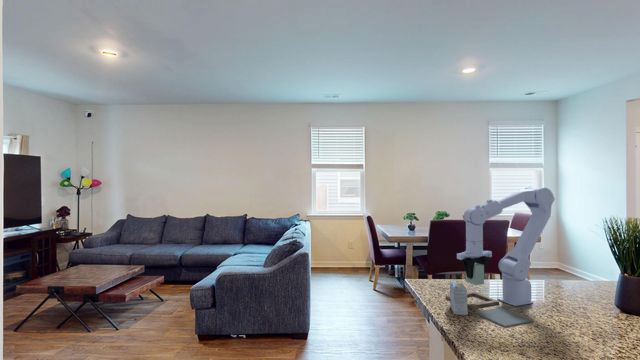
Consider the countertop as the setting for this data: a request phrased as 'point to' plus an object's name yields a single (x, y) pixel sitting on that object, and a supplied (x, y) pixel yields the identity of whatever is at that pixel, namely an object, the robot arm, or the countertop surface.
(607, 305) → the countertop surface
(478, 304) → the holder frame
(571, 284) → the countertop surface
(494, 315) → the rubber mat
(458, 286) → the medicine box
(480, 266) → the sage block
